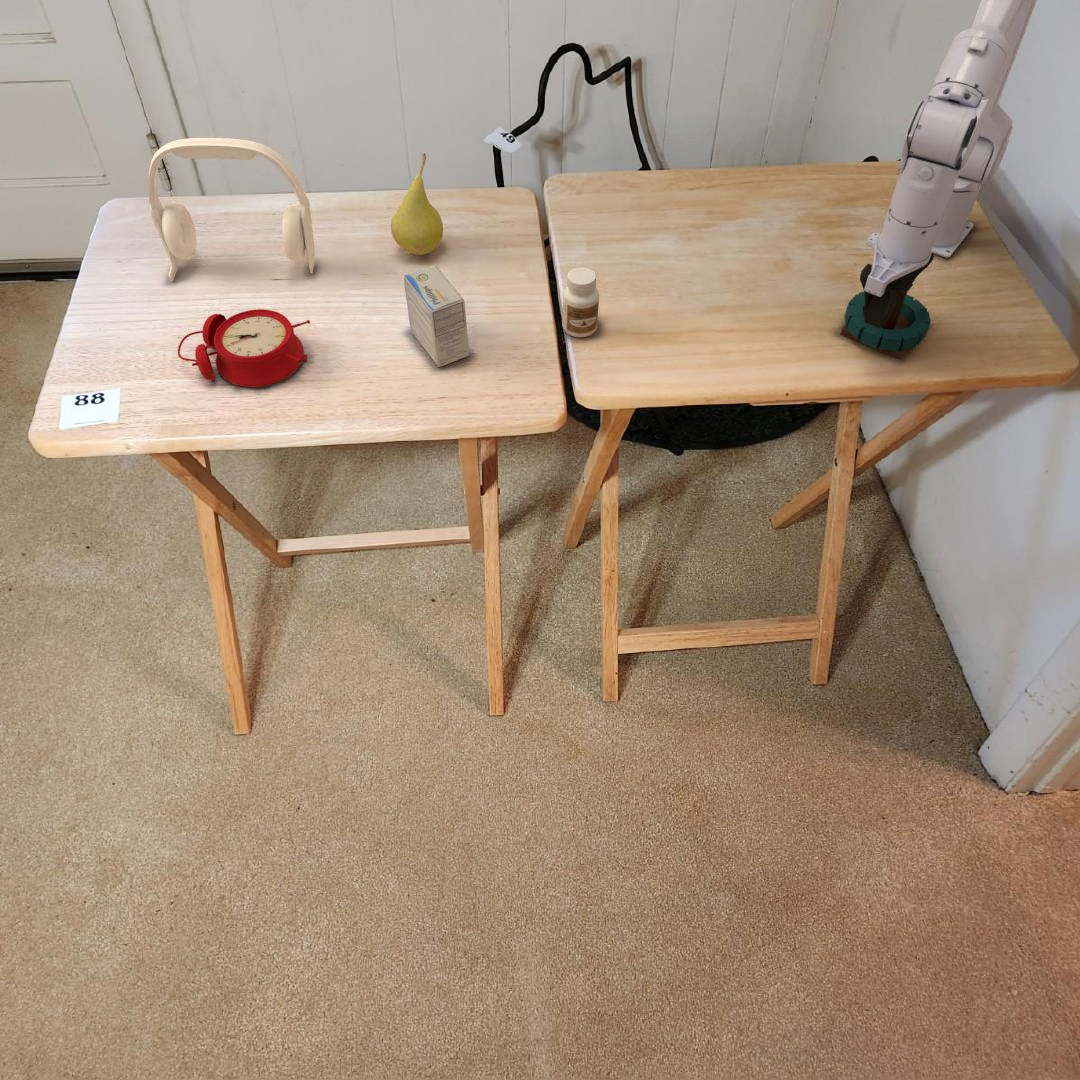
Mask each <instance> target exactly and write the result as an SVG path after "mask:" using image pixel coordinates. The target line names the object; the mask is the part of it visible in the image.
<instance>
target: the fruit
mask: <svg viewBox="0 0 1080 1080" xmlns="http://www.w3.org/2000/svg"><path fill="white" fill-rule="evenodd" d="M421 157H422V159H421V164H420V167H419V170H418V173H417V175H416V176H415V177H414V178H413V179H412V182H411V184H410V186H409V188H408V190H407V192H406V194H405V196H404V198H403V200H402V202H401V204H400V205H399V207H398V208H397V209H396V211H395V212H394V213H393V215H392V217H391V219H390V233H391V235H392V238H393V239H394V241H395V242H396V244H397V245H398V246H399V247H400V248H402V249H403V250H404V251H405V252H407V253H409V254H411V255H416V256H424V255H427V254H430V253H431V252H433V251H434V250H435V249H437V248H438V247H439V245H440V243H441V242H442V240H443V235H444V224H443V220H442V218H441V215H440V213H439V211H438V210H437V209H436V208H435V207H434V206H433V205H432V204H431V203H430V200H429V199H428V195H427V192H426V190H425V185H424V180H423V177H422V176H423V171H424V166H425V164H426V160H427V155H426V153H425V152H423V153H422V154H421Z"/></svg>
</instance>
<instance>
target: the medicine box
mask: <svg viewBox="0 0 1080 1080" xmlns="http://www.w3.org/2000/svg"><path fill="white" fill-rule="evenodd" d="M403 285H404V292H405V298H406V306H407V314H408V315H407V316H408V320H409V328H410V333H412V335H413V336H414V337H415V339H416V340H417V341H418V342H419V344H420V345H421V346H422V348H423V349H424V350H425V352H426V353H427V355H429V357H430V358H431V359H432V361H433V362H434V363H435V365H436V366H437V368H441V367H443V366H446V365H449V364H451V363H454V362H456V361H459V360H461V359H465V358H467V357H470V347H469V337H468V336H469V335H468V324H467V323H468V322H467V314H466V304H465V303H466V302H465V299H464V298H463V296H461V293H459V292H458V290H457V289H456V288H455V287H454V286H453V285H452V283H451V282H450V281H449V280H448V279H447V277H446V276H445V275H444V274H443V272H442V271H441V270H440V269H439V268H438V266H437V265H432V266H427V267H425V268H421V269H418V270H416V271H415V270H414V271H412V272H410V273H407V274H405V275H403Z"/></svg>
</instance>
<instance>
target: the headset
mask: <svg viewBox="0 0 1080 1080" xmlns="http://www.w3.org/2000/svg"><path fill="white" fill-rule="evenodd" d="M170 154H173V155H175V156H176V157H179V158H182V159H195V160H196V159H201V160H203V159H205V160H207V159H209V160H210V159H211V160H212V159H215V160H235V161H237V160H238V161H250V160H254V159H256V158H257V156H258V155H259V156H260V157H262V158H265V159H266V160H268V161H269V162H271V163H272V164H273V165H274V166H275V167H276V168H277V169H278V170H279V171H280V172H281V173H282V175H283V176H284V177H285V179H286V180H287V182H288V183H289V185H290V187H291V188H292V190H293V192H294V194H295V197H296V198H297V200H298V202H299V205H298V204H295V203H291V204H289V205H287V206H286V207H285V209H284V211H283V215H282V223H281V237H282V238H281V239H282V246H283V247H282V248H283V252H284V254H285V257H286V258H287V260H288V261H290V262H291V263H295V264H296V263H300V262H302V261H303V260H304V258H305V256H306V258H307V261H308V265H309V266H308V268H309V273H310V274H313V273H314V266H315V258H316V252H315V251H316V250H315V241H314V232H313V223H312V222H313V221H312V212H311V207H310V206H311V205H310V200H309V198H308V196H307V194H306V192H305V189H304V188H303V186H302V183H301V182H300V180H299V178H298V176H297V174H295V171H294V169H293V168H292V167H291V165H290V164H289V163H288V162H287V160H286V159H285V158H284V157H283V156H282V155H281V154H280V153H278V152H277V151H276V150H274V149H273V148H271V147H269V146H267V145H265V144H263V143H260V142H257V141H252V140H247V139H241V138H226V137H190V138H181V139H176V140H173V141H170V142H168V143H166V144H164V145H162V146H161V147H160V148H159V149H157V150H156V152H155V153H154V155H153V156H152V158H151V162H150V165H149V168H148V182H147V183H148V187H147V188H148V189H147V190H148V204H149V212H150V216H151V218H152V221H153V223H154V226H155V229H156V231H157V233H158V235H159V238H160V240H161V243H162V245H163V247H164V249H165V252H166V254H167V257H168V260H169V264H170V265H169V266H170V268H169V271H168V279H169V281H170V282H174V281H175V277H176V275H177V271H178V268H179V263H180V261H188V260H190V259H192V258H193V257H194V255H195V254H196V250H197V232H196V228H195V227H196V226H195V223H194V220H193V217H192V215H191V213H190V211H189V210H188V208H187V207H186V206H185V205H184V204H183V203H181V202H178V201H170V202H169V203H167V204H165V206H164V205H163V203H162V201H161V199H160V197H159V196H158V186H157V185H158V183H157V180H158V172H159V171H158V170H159V167H160V163H161V162H162V160H163V159H164V158H165V157H167V156H168V155H170Z"/></svg>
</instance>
